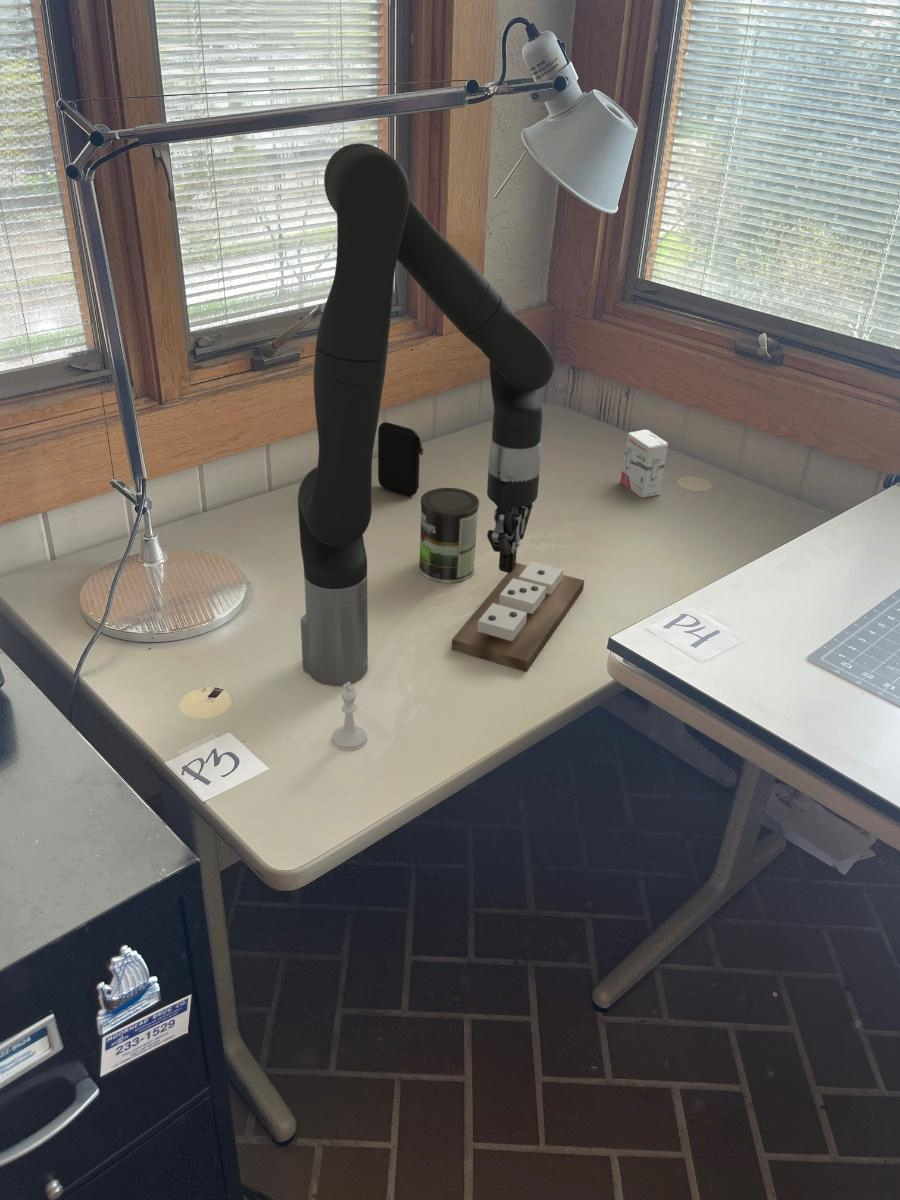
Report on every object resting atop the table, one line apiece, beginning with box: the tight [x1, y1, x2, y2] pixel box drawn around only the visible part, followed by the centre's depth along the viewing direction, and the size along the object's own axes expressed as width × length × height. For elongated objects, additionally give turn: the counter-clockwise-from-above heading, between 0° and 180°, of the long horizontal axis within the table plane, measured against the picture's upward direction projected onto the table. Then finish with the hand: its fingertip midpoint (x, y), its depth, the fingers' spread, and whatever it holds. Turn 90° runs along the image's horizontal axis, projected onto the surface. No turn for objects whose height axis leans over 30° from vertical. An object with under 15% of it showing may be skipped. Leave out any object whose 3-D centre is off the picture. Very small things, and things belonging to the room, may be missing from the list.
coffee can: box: [418, 487, 480, 584], centre depth 182 cm, size 10×10×14 cm
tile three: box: [499, 578, 546, 614], centre depth 170 cm, size 6×6×2 cm
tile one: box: [519, 560, 564, 595], centre depth 177 cm, size 6×6×2 cm
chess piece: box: [331, 682, 368, 752], centre depth 141 cm, size 5×5×10 cm
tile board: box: [451, 562, 585, 673], centre depth 172 cm, size 13×28×2 cm, turn 155°
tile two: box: [478, 603, 527, 641], centre depth 163 cm, size 6×6×2 cm
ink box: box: [620, 429, 669, 499], centre depth 214 cm, size 9×5×12 cm, turn 25°
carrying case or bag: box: [377, 421, 424, 497], centre depth 207 cm, size 11×3×15 cm, turn 58°
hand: (506, 569), depth 158 cm, fingers closed
